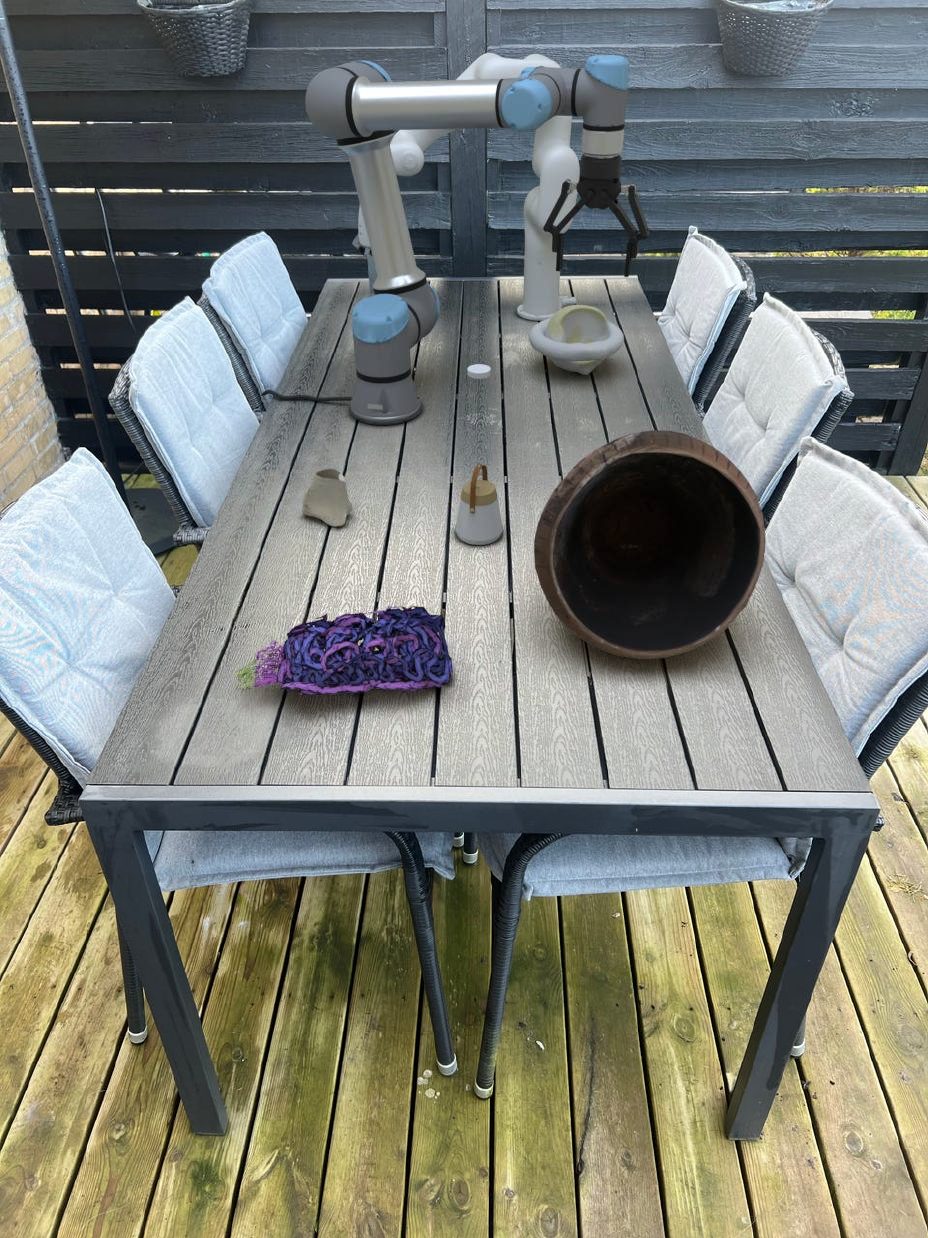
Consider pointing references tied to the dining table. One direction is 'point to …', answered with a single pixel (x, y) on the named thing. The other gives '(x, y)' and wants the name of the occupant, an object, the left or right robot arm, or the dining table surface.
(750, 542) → the pot
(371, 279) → the brick
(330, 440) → the dining table surface
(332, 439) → the dining table surface
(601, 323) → the hat
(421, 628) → the decorative ornament
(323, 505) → the grey irregular lump
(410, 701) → the dining table surface
